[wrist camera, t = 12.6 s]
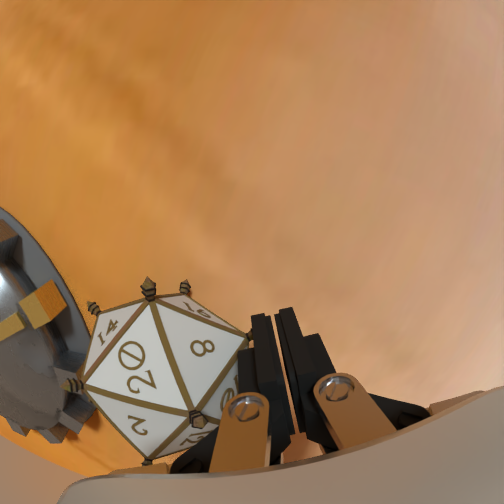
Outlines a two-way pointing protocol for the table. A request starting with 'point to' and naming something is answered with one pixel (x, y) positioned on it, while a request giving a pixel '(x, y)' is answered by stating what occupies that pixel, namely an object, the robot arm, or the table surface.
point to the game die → (161, 370)
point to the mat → (42, 272)
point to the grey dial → (34, 353)
